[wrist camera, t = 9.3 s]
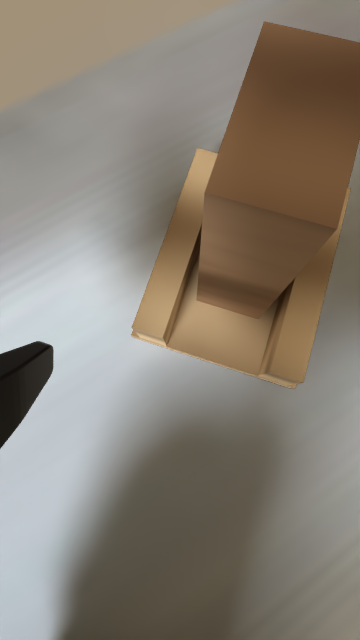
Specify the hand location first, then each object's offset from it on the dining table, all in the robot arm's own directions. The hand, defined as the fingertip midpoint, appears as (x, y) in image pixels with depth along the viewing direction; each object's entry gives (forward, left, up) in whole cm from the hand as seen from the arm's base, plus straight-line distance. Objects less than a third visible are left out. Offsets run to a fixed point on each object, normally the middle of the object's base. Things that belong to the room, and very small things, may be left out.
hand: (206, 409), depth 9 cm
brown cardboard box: (+6, -6, -9) cm, 12 cm away
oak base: (+5, -5, -9) cm, 12 cm away
